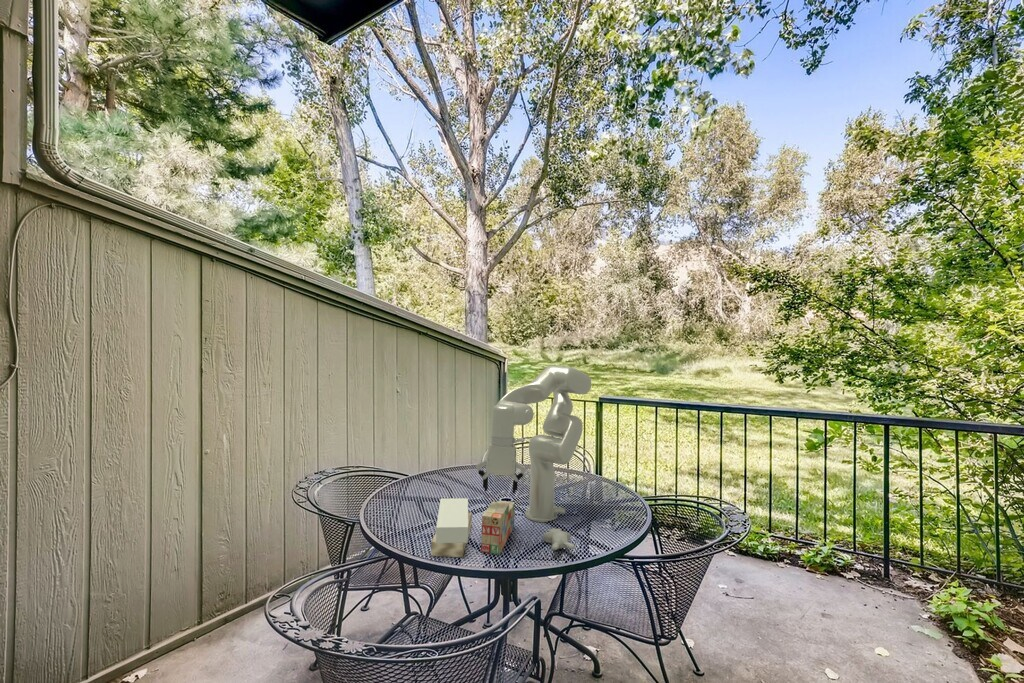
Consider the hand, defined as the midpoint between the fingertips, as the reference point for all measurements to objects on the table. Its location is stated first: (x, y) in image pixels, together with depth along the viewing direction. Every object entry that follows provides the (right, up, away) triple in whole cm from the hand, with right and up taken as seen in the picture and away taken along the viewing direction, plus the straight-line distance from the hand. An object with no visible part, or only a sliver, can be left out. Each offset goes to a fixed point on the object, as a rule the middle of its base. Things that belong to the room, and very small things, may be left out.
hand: (499, 490), depth 154 cm
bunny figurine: (+20, -18, -3) cm, 27 cm away
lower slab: (-16, -17, 0) cm, 24 cm away
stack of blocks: (-1, -17, +1) cm, 17 cm away
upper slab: (-16, -12, 0) cm, 20 cm away
